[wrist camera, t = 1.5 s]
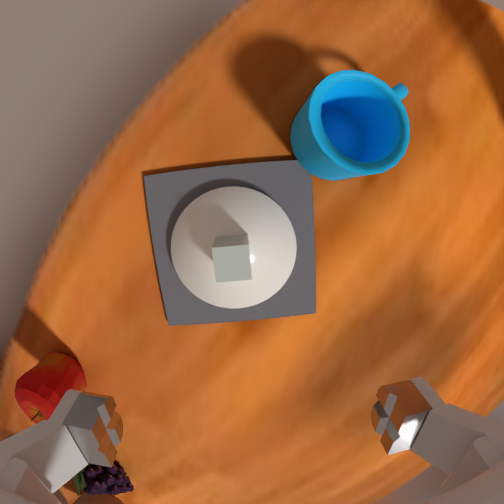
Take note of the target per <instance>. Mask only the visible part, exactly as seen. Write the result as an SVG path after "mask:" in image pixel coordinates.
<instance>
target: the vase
mask: <svg viewBox="0 0 504 504" xmlns="http://www.w3.org/2000/svg"><path fill="white" fill-rule="evenodd" d="M73 504H123V502H122V501H120V500H119V499H117V498H116V497H114V496H112V495H110V494H106V493H104V494H101V495H100V494H96V495H88V494H87V493H85V492H84V493H83V494H82V495H81V496H80V497H79V498H78V499H77V500H76V501H75V502H74V503H73Z"/></svg>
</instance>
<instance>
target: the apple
mask: <svg viewBox="0 0 504 504" xmlns="http://www.w3.org/2000/svg"><path fill="white" fill-rule="evenodd" d="M86 386H87V384H86V379H85V375H84V372H83V370H82V368H81V366H80V365H79V363H78V362H77V361H76V360H75V359H74V358H72V357H71V356H69V355H66V354H62V353H49V354H47V355H46V356H45V357H44V358H43V359H42V360H41V361H40V362H39V363H38V364H37V365H36V366H35V367H33V368H32V369H30V370H29V371H27V372H26V373H24V374H23V375H22V376H21V377H20V378H19V379H18V380H17V382H16V387H15V398H16V400H17V402H18V404H19V406H20V407H21V409H22V410H23V411H24V412H25V414H26V415H27V416H28V417H29V418H30V419H31V421H33V422H34V423H36V424H37V423H39V422H41V421H43V420H49V418H50V417H51V415H52V413H53V412H54V410H55V409H56V407H57V405H58V404H59V402H60V401H61V399H62V397H63V396H64V394H65V393H66V391H67V390H70V389H73V390H78V391H82V392H83V391H84V390H85V388H86Z"/></svg>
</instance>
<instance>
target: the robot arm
mask: <svg viewBox="0 0 504 504" xmlns="http://www.w3.org/2000/svg"><path fill="white" fill-rule="evenodd" d="M376 396H377V398H378V399H379V400H378V401H377V402H376V403H375V404H374V405H373V408H372V412H371V421H372V425H373V428H374V430H375V432H377V433H379V434H381V435H382V437H381V440H380V442H381V443H382V445H383V447H384V449H385V451H386V453H387V455H390V454H394V453H397V452H401V451H404V450H408V449H410V450H411V451H412V452H414V453H416V454H417V455H419V456H420V457H422V458H423V459H425V460H426V461H428V462H429V463H431V464H433V465H434V466H436V467H437V468H439V469H441V470H442V471H444V472H446V473H447V474H449V477H448V478H447V479H446V480H445V482H444V483H443V484H442V486H441V490H442V492H443V494H442V495H440V496H437V497H436V498H433V499H431V500H429V501H426V502H424V503H422V504H504V424H502V423H499V422H497V421H494V420H491V419H488V418H486V417H483V416H480V415H478V414H475V413H472V412H470V411H467V410H464V409H462V408H459V407H457V406H454V405H452V404H447V405H446V404H445V403H444V402H443V400H442V399H441V398H440V397H439V396H438V394H437V393H436V392H435V391H434V390H433V388H432V387H431V386H430V385H429V384H428V382H427V381H426V380H425V379H424V378H423V377H416V378H413V379H409V380H405V381H401V382H397V383H392V384H388V385H383V386H381V387H380V388H379V389H378V392H377V395H376ZM115 407H116V403H115V401H114V398H113V397H111V396H107V395H101V394H95V393H90V392H84V391H83V392H82V391H78V390H73V389H70V390H67V391H66V393H65V394H64V396H63V397H62V399H61V401H60V402H59V404H58V405H57V407H56V409H55V410H54V412H53V413H52V415H51V417H50V418H49V420H43V421H41V422H39V423H37V424H35V425H33V426H31V427H29V428H27V429H25V430H23V431H21V432H19V433H17V434H15V435H13V436H11V437H9V438H7V439H5V440H3V441H1V442H0V504H62V503H61V502H60V501H59V500H58V499H57V498H56V497H55V496H54V495H53V493H54V492H55V491H56V490H58V489H59V488H60V487H61V486H63V485H64V484H65V483H66V482H67V481H69V480H70V479H71V478H72V477H74V476H75V475H76V474H77V473H78V472H80V471H81V470H82V469H83V468H84V467H86V466H87V465H88V463H91V464H96V465H101V466H106V467H112V466H113V463H114V460H115V457H116V454H117V451H116V449H115V447H114V446H116V445H117V444H119V443H120V442H121V439H122V436H123V423H122V419H121V416H120V415H119V414H118V413H117V412H116V411H115Z"/></svg>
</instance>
